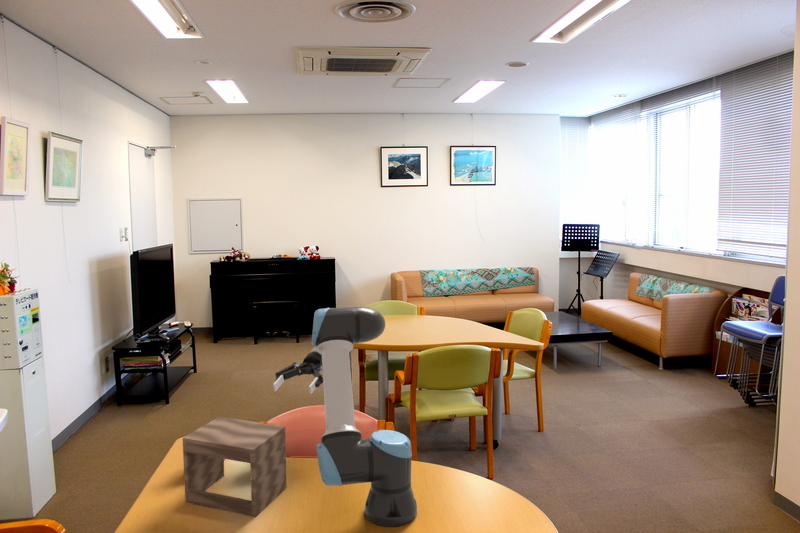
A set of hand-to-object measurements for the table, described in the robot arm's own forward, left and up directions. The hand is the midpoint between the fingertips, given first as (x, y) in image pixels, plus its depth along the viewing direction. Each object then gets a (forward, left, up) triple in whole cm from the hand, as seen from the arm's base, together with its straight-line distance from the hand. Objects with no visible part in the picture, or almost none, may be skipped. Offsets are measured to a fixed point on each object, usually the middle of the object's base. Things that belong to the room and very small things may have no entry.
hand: (292, 389), depth 189 cm
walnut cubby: (-5, +26, -25) cm, 37 cm away
